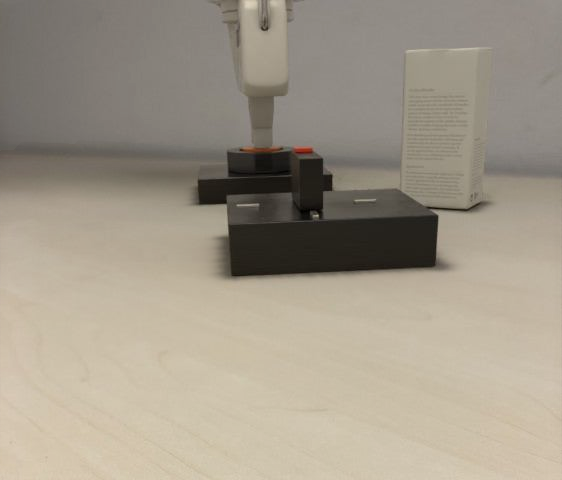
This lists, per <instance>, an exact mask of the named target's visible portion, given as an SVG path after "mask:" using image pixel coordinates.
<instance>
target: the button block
mask: <svg viewBox="0 0 562 480" xmlns="http://www.w3.org/2000/svg"><path fill="white" fill-rule="evenodd" d="M279 146H280V147H281V150H278V151H267V152H245V151H242V148H243V147H244V146H240V147H239V146H238V147H232V148H229V149H226V161H227V162H226V163H219V164H218V163H217V164H200V165H199V169H198V174H197V190H198V204H200V205H209V204H211V205H212V204H227V200H226V196H227V195H244V194H269V193H292V175H291V151H294V147H295V146H287V145H279ZM323 191H333V173H332V172H331V171H330V170H328V169H327V167H326V166H324V165H323Z"/></svg>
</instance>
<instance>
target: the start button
mask: <svg viewBox="0 0 562 480" xmlns="http://www.w3.org/2000/svg"><path fill="white" fill-rule="evenodd" d="M280 146H281V145H274V144H272V146H271V147H270V148H260V149H257V148H255V147H254V145H249V146H248V145H247V146H242V147H243V148H242V151H245V152H267V151H278V150H281V147H280Z"/></svg>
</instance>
